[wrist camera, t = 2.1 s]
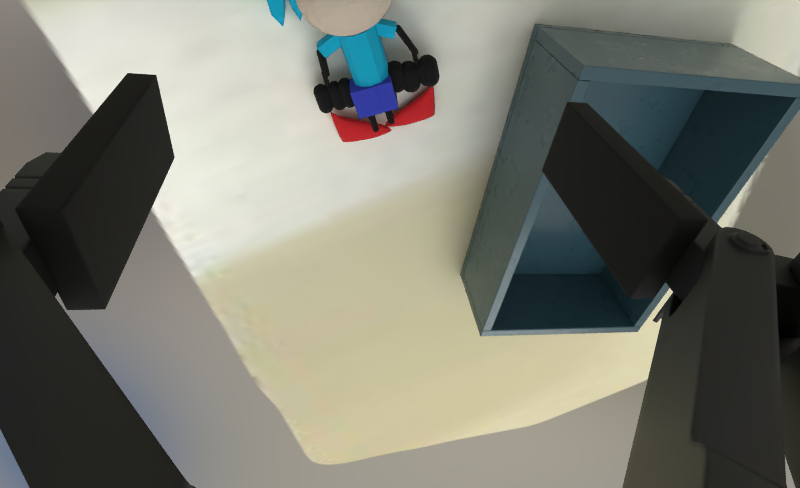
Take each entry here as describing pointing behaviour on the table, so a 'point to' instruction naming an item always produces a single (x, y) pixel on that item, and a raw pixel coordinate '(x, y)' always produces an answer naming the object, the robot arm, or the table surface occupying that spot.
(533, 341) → the table surface
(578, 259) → the tote
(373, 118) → the toy figure
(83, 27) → the table surface
